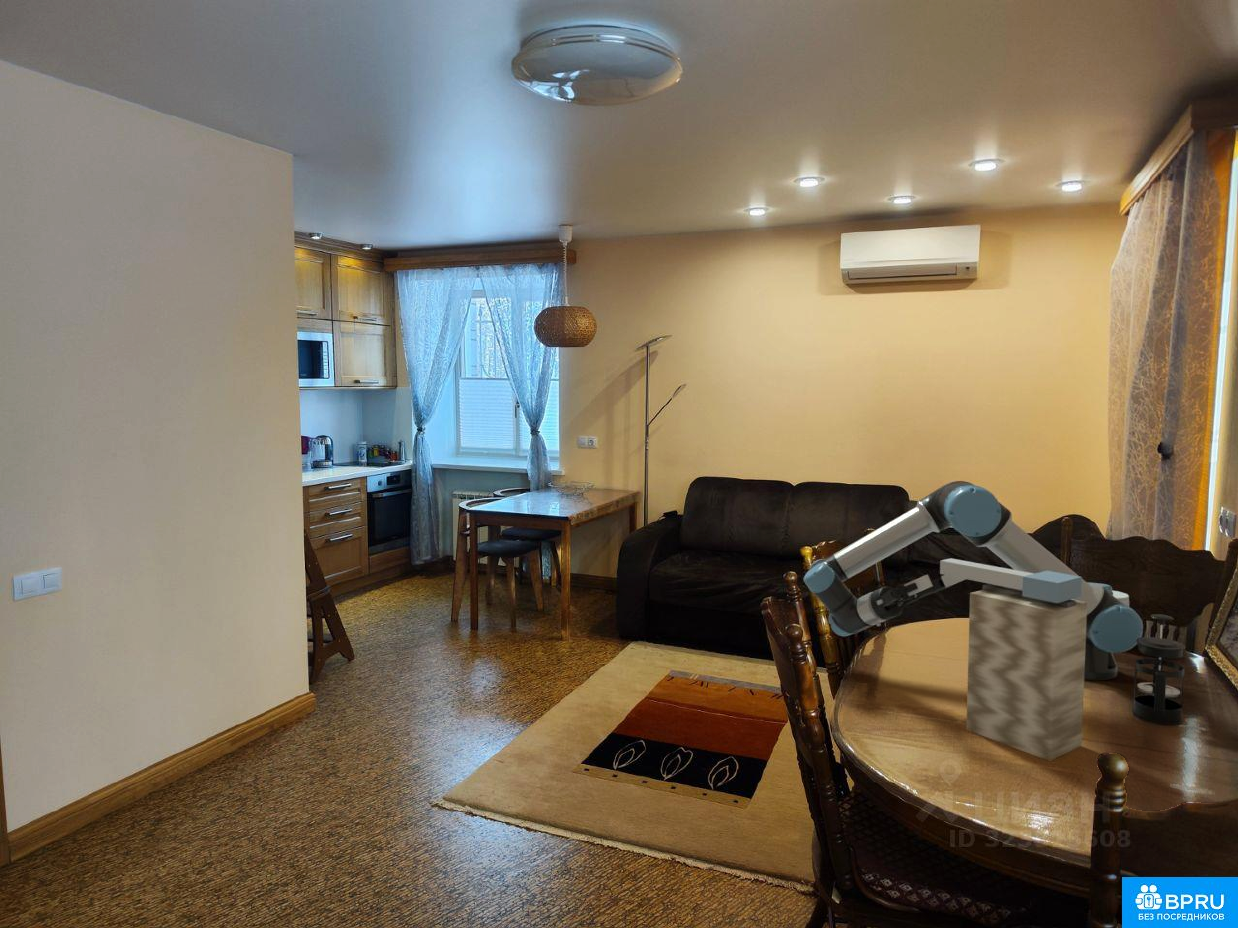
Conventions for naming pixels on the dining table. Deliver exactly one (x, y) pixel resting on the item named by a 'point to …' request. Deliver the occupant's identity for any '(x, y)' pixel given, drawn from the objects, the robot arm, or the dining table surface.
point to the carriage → (1018, 580)
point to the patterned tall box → (1026, 671)
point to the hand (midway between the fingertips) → (948, 576)
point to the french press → (1159, 680)
